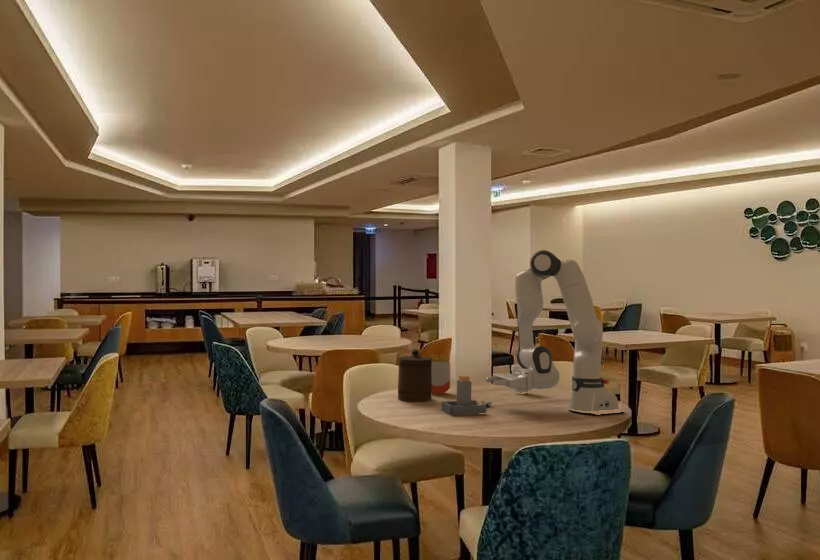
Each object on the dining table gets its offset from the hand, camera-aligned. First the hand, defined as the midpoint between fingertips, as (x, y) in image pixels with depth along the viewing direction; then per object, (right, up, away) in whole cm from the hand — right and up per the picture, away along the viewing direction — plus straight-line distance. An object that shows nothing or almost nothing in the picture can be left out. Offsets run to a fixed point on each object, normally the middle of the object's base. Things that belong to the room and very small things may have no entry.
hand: (491, 381), depth 282 cm
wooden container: (-31, -11, +23) cm, 41 cm away
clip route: (-2, -12, +6) cm, 14 cm away
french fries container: (-20, -11, +39) cm, 45 cm away
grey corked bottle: (-12, -11, -4) cm, 17 cm away
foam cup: (+19, -12, +43) cm, 49 cm away
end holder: (-12, -12, -4) cm, 17 cm away
